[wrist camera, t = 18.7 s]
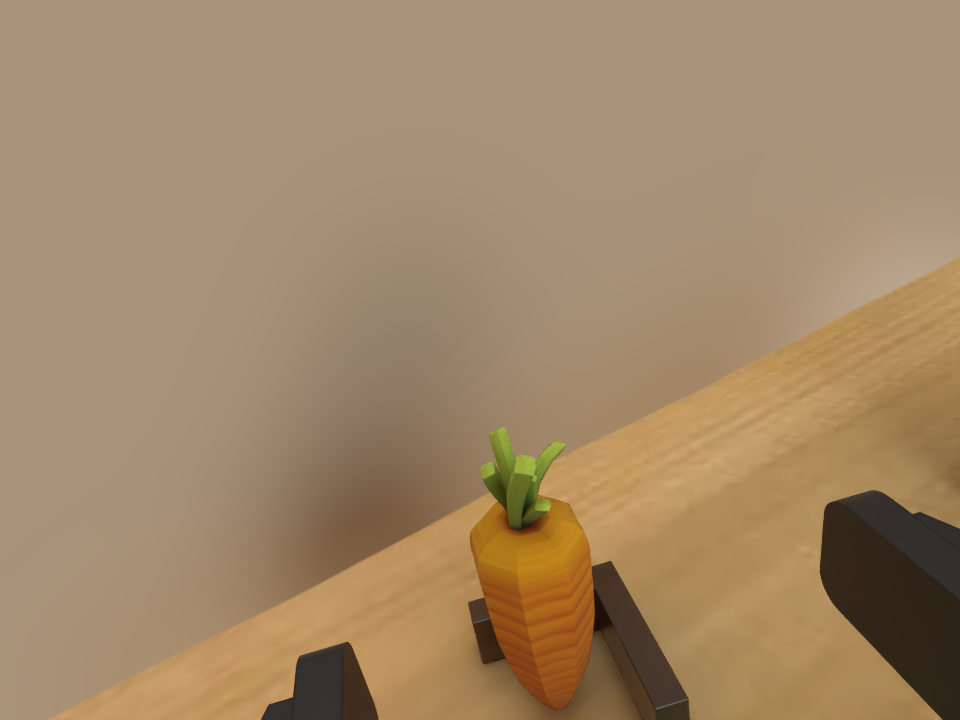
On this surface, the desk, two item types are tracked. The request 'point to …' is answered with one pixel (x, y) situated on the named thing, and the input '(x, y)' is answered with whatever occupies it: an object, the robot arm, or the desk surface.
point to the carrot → (535, 575)
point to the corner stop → (614, 647)
